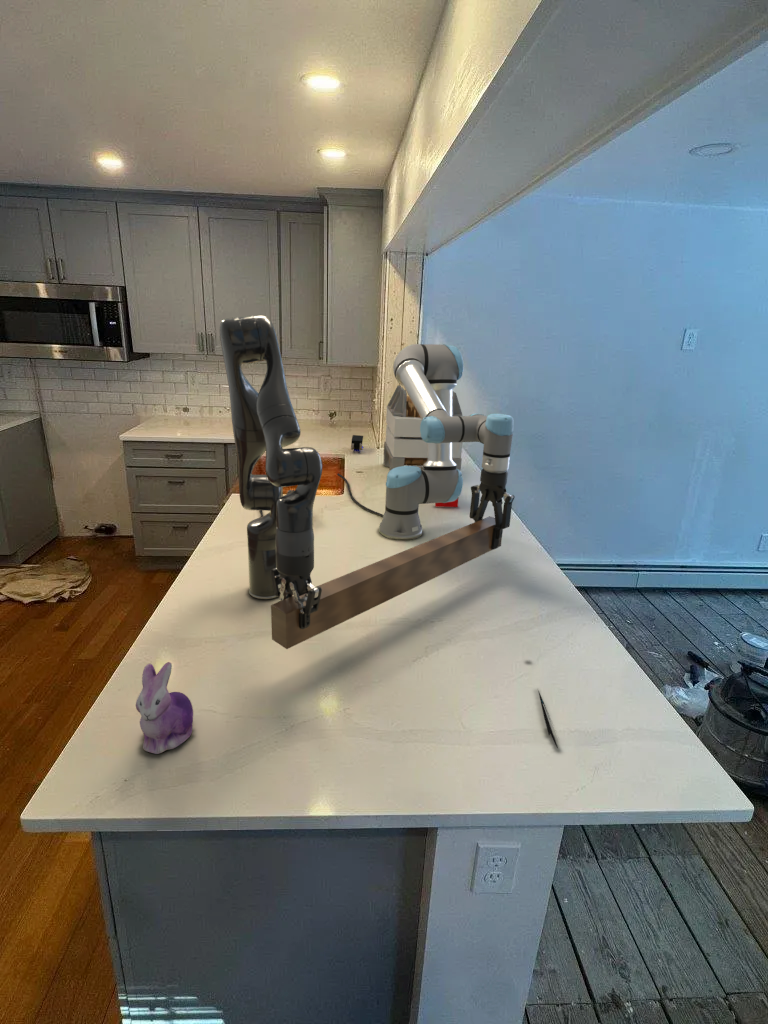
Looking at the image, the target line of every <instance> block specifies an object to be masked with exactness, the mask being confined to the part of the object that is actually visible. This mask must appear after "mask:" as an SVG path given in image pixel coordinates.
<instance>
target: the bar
mask: <svg viewBox="0 0 768 1024" xmlns="http://www.w3.org/2000/svg"><path fill="white" fill-rule="evenodd" d="M495 527H496V524H495V516H494V517H493V516H491V515H490V516H486V517H483V519H482V520H479V521H477V522H475V521H474V522H472V523H469V524H467V525H464V526H462V527H459V528H457V529H455V530H452V531H450V532H447V533H445V534H442V535H440V536H437V537H435V538H433V539H430V540H428V541H425V542H423V543H419V544H417V545H415V546H413V547H410V548H408V549H405V550H404V551H400V552H398V553H396V554H393V555H391V556H388V557H386V558H383V559H380V560H378V561H375V562H373V563H370V564H368V565H366V566H363V567H361V568H359V569H356V570H353V571H351V572H349V573H347V574H344V575H341V576H338V577H336V578H333V579H331V580H329V581H326V582H323V583H321V584H319V585H317V586H315V587H319V586H320V587H321V589H322V592H321V597H320V602H319V607H318V611H316V612H313V613H311V614H310V625H309V627H307V628H305V629H301V628H299V613H300V612H299V608H298V604H297V603H295V600H294V596H292V597H289V598H287V599H284V600H282V601H280V600H279V601H277V602H275V603H272V604H271V605H270V617H271V640H272V641H273V642H275V643H276V644H277V645H279V646H281V647H283V648H284V649H286V650H288V649H291V648H292V647H294V646H297V645H299V644H301V643H303V642H305V641H307V640H309V639H311V638H313V637H316V636H318V635H320V634H322V633H323V632H327V631H328V630H330V629H332V628H335V627H336V626H338V625H340V624H342V623H345V622H346V621H348V620H350V619H351V620H352V619H353V618H354V617H356V616H359V615H361V614H363V613H365V612H367V611H369V610H371V609H374V608H376V607H377V606H380V605H382V604H384V603H386V602H388V601H391V600H392V599H394V598H396V597H398V596H400V595H402V594H404V593H406V592H408V591H410V590H413V589H415V588H417V587H419V586H421V585H424V584H425V583H428V582H429V581H431V580H433V579H435V578H437V577H440V576H442V575H443V574H446V573H448V572H450V571H452V570H454V569H456V568H458V567H460V566H462V565H464V564H467V563H468V562H471V561H473V560H475V559H476V558H479V557H481V556H483V555H485V554H487V553H489V552H491V551H493V550H492V549H491V545H492V536H493V528H495ZM503 533H504V531H503V532H502V534H503ZM502 540H503V537H502V538H501V539H499V546H498V548H500V547H501V546H502ZM304 596H305V594H304V595H301V596H299V597H300V598H301V597H304ZM303 606H304V607H305V606H306V602H305V601H304V602H303ZM312 606H313V605H312Z"/></svg>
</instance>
